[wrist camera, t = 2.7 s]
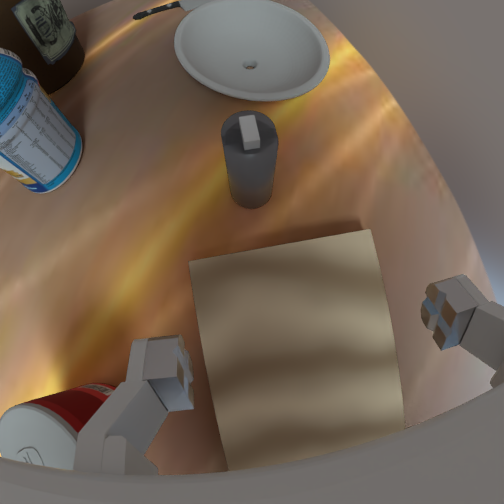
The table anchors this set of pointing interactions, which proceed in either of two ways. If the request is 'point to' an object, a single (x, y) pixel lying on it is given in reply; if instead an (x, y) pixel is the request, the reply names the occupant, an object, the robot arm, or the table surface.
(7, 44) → the olive oil
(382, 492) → the robot arm
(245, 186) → the dark grey cylinder
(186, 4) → the chef's knife
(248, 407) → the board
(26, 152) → the beverage bottle
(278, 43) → the dish
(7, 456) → the canned food
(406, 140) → the table surface
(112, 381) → the table surface
